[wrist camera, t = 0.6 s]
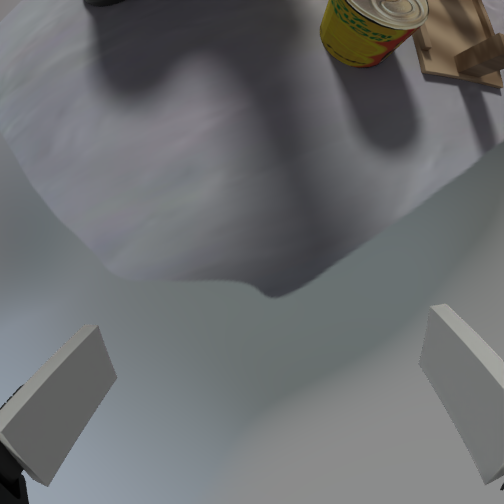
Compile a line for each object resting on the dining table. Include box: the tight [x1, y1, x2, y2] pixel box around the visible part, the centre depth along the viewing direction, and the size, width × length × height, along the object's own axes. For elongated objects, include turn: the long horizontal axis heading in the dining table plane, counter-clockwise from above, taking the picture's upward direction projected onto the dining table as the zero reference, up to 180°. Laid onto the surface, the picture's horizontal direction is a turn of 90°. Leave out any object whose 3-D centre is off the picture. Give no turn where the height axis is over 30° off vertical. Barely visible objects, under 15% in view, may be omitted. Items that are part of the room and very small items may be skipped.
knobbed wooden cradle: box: [412, 0, 504, 88], centre depth 18 cm, size 19×15×14 cm
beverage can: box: [320, 0, 429, 68], centre depth 22 cm, size 9×9×12 cm
